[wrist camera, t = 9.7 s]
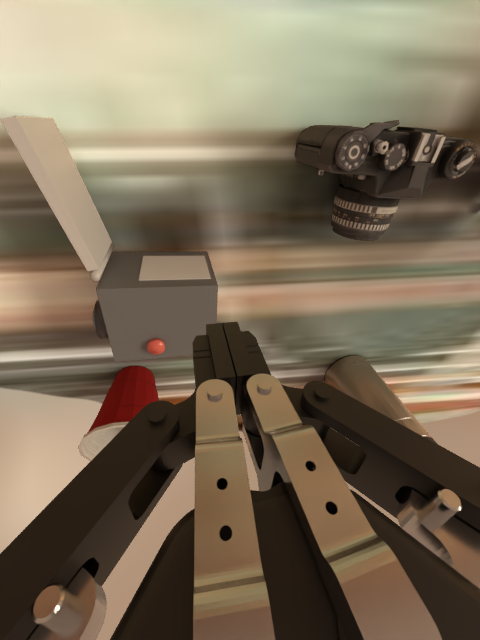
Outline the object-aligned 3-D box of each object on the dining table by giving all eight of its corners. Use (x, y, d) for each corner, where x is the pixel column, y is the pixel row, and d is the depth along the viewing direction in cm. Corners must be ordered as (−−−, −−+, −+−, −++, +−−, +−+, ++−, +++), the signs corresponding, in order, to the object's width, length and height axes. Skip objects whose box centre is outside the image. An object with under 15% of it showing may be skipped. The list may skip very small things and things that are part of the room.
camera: (282, 225, 34) (318, 256, 26) (298, 118, 27) (350, 114, 19) (380, 224, 36) (438, 251, 29) (414, 127, 30) (501, 127, 22)
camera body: (206, 311, 38) (215, 356, 31) (109, 316, 36) (93, 367, 28) (207, 250, 33) (218, 287, 26) (93, 251, 30) (68, 292, 23)
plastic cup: (95, 398, 44) (74, 473, 34) (101, 349, 38) (79, 423, 29) (162, 402, 48) (160, 470, 38) (176, 358, 42) (178, 425, 33)
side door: (55, 118, 23) (12, 115, 17) (116, 248, 30) (102, 280, 24) (41, 121, 23) (-7, 119, 17) (106, 250, 30) (90, 283, 24)
